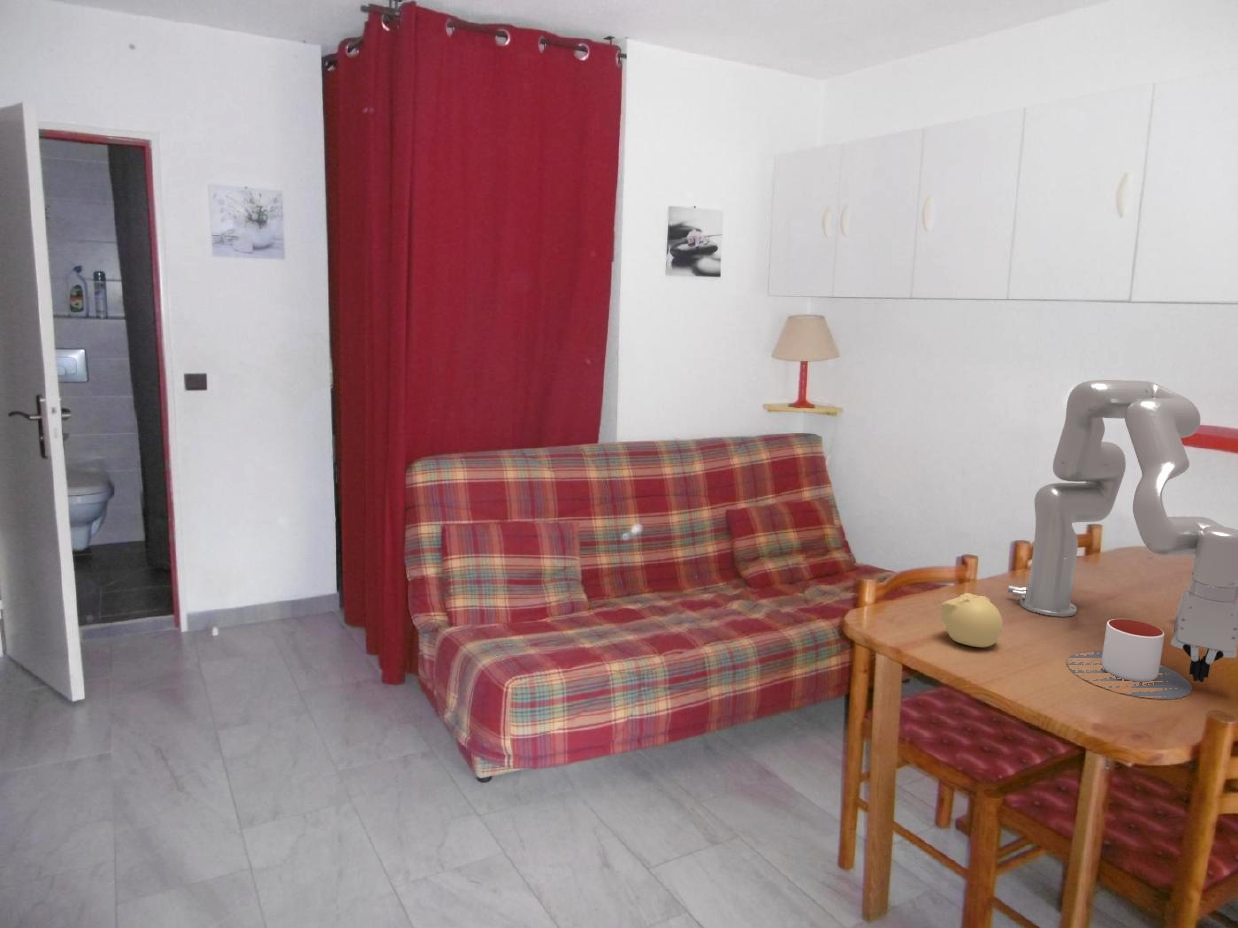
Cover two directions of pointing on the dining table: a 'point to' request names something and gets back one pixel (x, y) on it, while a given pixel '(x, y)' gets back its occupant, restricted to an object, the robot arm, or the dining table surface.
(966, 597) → the sculpture
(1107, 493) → the robot arm
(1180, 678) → the mat
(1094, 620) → the dining table surface
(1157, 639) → the cup
